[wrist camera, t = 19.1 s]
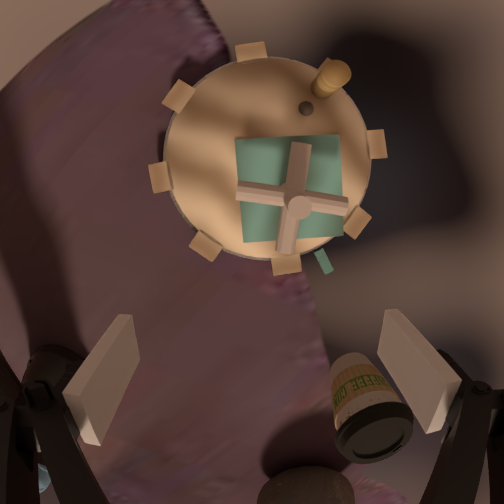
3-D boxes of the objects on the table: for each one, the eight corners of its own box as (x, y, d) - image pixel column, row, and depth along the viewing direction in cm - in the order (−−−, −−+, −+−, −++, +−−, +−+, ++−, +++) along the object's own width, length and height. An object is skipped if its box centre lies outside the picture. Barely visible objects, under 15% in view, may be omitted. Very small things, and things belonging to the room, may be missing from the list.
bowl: (351, 483, 53) (362, 528, 41) (271, 501, 55) (272, 547, 43) (340, 439, 49) (354, 494, 37) (244, 462, 50) (242, 517, 38)
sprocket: (291, 308, 40) (300, 347, 31) (114, 188, 36) (78, 198, 27) (417, 141, 34) (458, 139, 25) (241, 11, 30) (238, -27, 21)
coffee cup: (348, 330, 42) (383, 401, 28) (393, 358, 44) (433, 425, 29) (303, 378, 44) (319, 456, 30) (350, 401, 46) (374, 472, 32)
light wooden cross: (340, 152, 32) (373, 154, 23) (324, 243, 35) (348, 277, 26) (246, 137, 32) (242, 131, 22) (233, 230, 35) (225, 261, 25)
